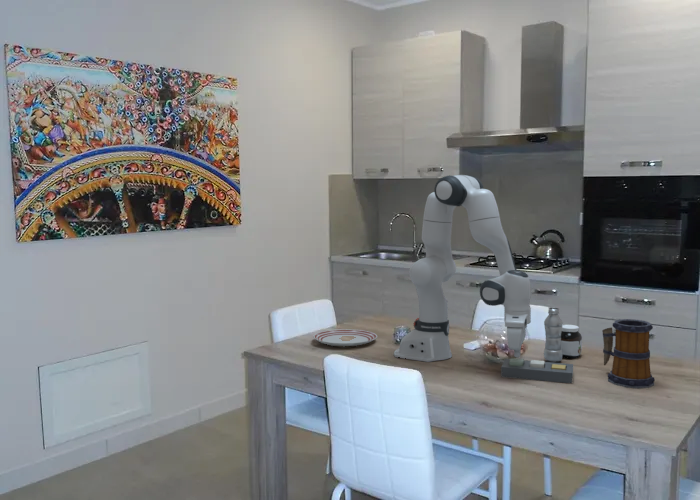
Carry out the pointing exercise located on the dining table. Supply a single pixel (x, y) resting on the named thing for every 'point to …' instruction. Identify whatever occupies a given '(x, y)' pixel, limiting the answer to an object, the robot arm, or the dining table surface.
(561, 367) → the ochre key
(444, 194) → the robot arm
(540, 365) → the cream key
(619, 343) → the mug
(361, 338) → the dinner plate
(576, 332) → the spread jar
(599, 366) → the dining table surface
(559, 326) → the plastic bottle
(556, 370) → the keypad
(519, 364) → the sage-green key
